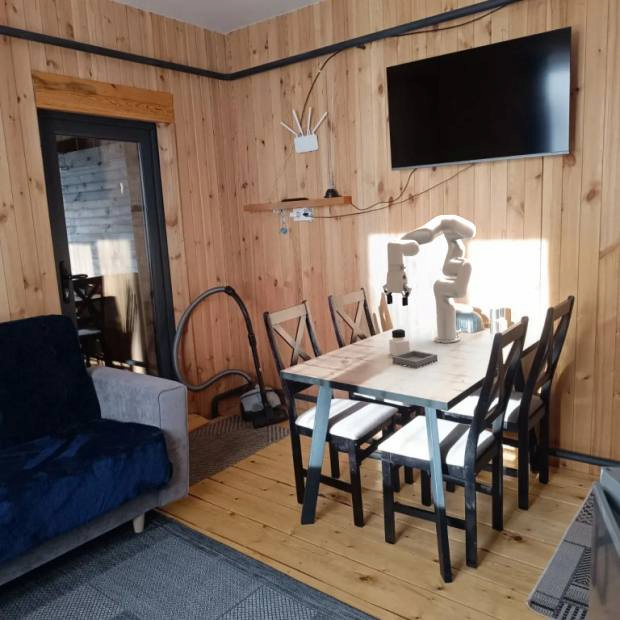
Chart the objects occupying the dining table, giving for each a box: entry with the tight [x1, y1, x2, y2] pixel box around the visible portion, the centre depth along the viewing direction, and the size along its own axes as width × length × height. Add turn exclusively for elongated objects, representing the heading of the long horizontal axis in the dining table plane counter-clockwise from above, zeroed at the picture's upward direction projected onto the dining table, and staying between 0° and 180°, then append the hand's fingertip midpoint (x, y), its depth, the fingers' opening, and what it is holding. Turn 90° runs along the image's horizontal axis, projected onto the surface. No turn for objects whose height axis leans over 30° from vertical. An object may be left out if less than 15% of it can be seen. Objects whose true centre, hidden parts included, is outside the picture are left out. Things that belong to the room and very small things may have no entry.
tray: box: [392, 349, 439, 369], centre depth 262 cm, size 14×14×3 cm
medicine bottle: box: [388, 328, 411, 357], centre depth 276 cm, size 7×7×12 cm
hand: (397, 304), depth 273 cm, fingers open, 9 cm apart
